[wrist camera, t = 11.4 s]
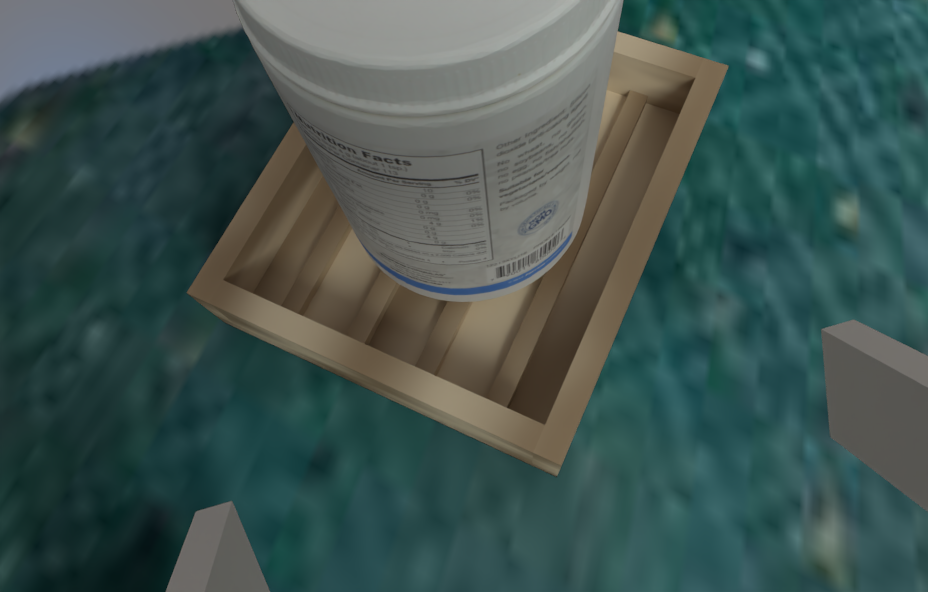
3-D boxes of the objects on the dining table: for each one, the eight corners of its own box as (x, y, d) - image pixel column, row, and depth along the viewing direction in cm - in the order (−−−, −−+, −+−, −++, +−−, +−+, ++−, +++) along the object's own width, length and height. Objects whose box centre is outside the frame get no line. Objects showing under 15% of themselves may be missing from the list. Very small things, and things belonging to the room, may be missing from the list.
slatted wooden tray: (223, 322, 29) (186, 293, 26) (406, 18, 34) (394, -39, 31) (556, 476, 26) (561, 465, 23) (707, 117, 31) (728, 65, 28)
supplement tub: (395, 84, 31) (293, -289, 17) (608, 125, 30) (681, -250, 16) (321, 282, 28) (127, 20, 14) (554, 339, 27) (587, 105, 13)
